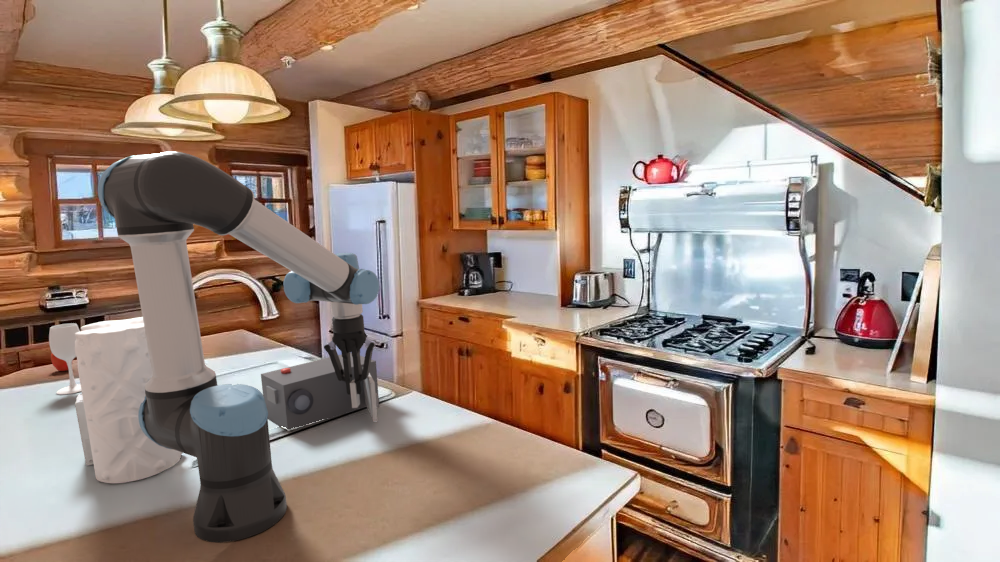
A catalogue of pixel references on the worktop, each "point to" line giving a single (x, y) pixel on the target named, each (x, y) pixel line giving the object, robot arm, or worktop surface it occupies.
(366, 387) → the side door
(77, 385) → the wineglass
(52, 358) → the apple
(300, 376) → the camera body
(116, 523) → the worktop surface
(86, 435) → the skincare box
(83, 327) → the vase
